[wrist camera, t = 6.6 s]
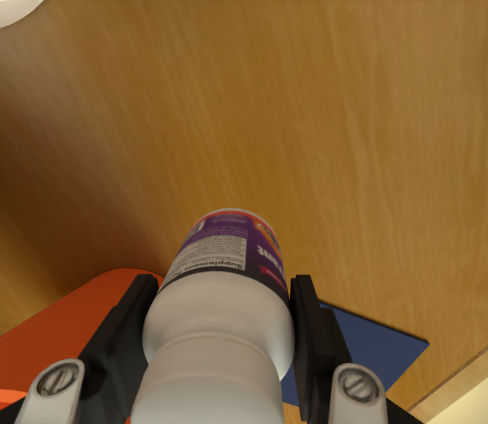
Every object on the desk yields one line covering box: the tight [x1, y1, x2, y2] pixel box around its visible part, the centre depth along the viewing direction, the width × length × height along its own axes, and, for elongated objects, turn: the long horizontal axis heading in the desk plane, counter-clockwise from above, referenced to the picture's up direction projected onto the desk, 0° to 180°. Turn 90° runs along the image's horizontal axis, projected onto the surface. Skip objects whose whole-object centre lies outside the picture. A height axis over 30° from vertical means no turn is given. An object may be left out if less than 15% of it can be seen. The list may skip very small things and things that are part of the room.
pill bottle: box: [130, 208, 296, 424], centre depth 12 cm, size 5×5×10 cm
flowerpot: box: [0, 268, 165, 424], centre depth 31 cm, size 25×25×20 cm
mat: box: [280, 301, 430, 407], centre depth 42 cm, size 20×20×1 cm
